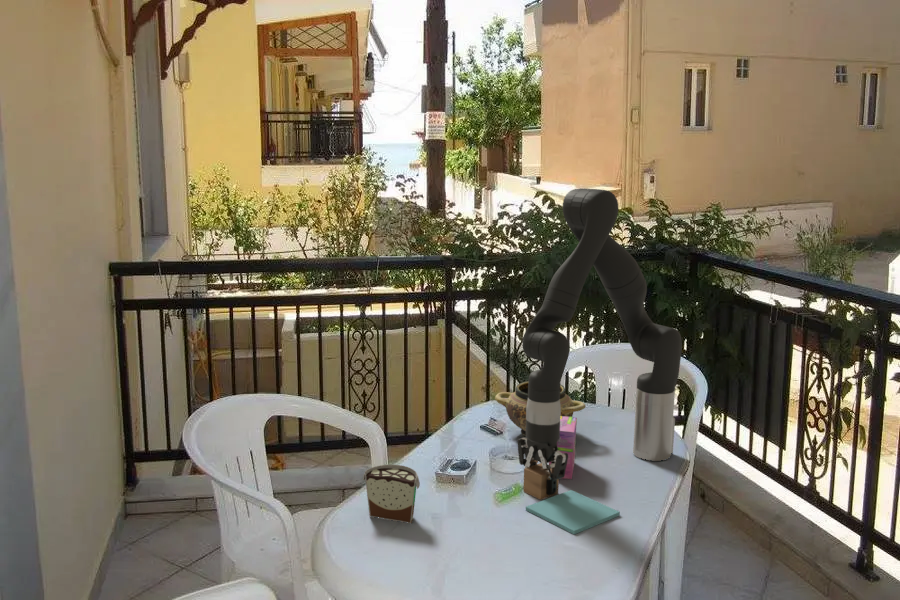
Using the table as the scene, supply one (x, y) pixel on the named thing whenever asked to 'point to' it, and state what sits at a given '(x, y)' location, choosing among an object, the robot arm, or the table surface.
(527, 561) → the table surface
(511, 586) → the table surface
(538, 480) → the cube
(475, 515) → the table surface
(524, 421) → the ceramic bowl
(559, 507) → the mat
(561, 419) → the box
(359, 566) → the table surface
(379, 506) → the food container
